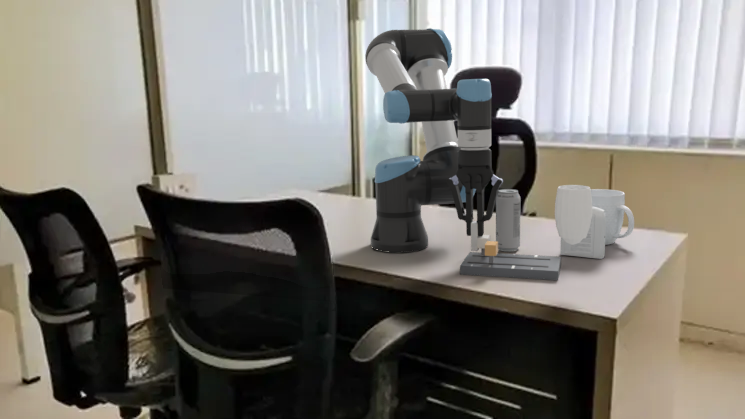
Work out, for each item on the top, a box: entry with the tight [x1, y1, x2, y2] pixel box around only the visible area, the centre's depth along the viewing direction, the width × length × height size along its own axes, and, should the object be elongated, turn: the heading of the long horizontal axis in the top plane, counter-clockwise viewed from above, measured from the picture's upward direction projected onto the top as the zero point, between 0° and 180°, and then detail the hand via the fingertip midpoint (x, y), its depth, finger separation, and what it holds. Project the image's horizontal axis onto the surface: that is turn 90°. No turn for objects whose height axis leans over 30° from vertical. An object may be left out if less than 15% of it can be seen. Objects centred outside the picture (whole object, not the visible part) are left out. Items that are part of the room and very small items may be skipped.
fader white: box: [477, 234, 491, 255], centre depth 151 cm, size 2×4×4 cm, turn 161°
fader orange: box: [485, 240, 499, 263], centre depth 145 cm, size 2×4×4 cm, turn 162°
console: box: [459, 251, 562, 281], centre depth 147 cm, size 21×12×2 cm, turn 71°
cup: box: [554, 184, 592, 245], centre depth 132 cm, size 7×7×21 cm
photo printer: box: [559, 206, 606, 260], centre depth 155 cm, size 10×4×12 cm, turn 61°
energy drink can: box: [495, 188, 521, 253], centre depth 164 cm, size 6×6×15 cm
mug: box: [590, 188, 635, 246], centre depth 166 cm, size 15×11×13 cm
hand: (475, 249), depth 152 cm, fingers closed
